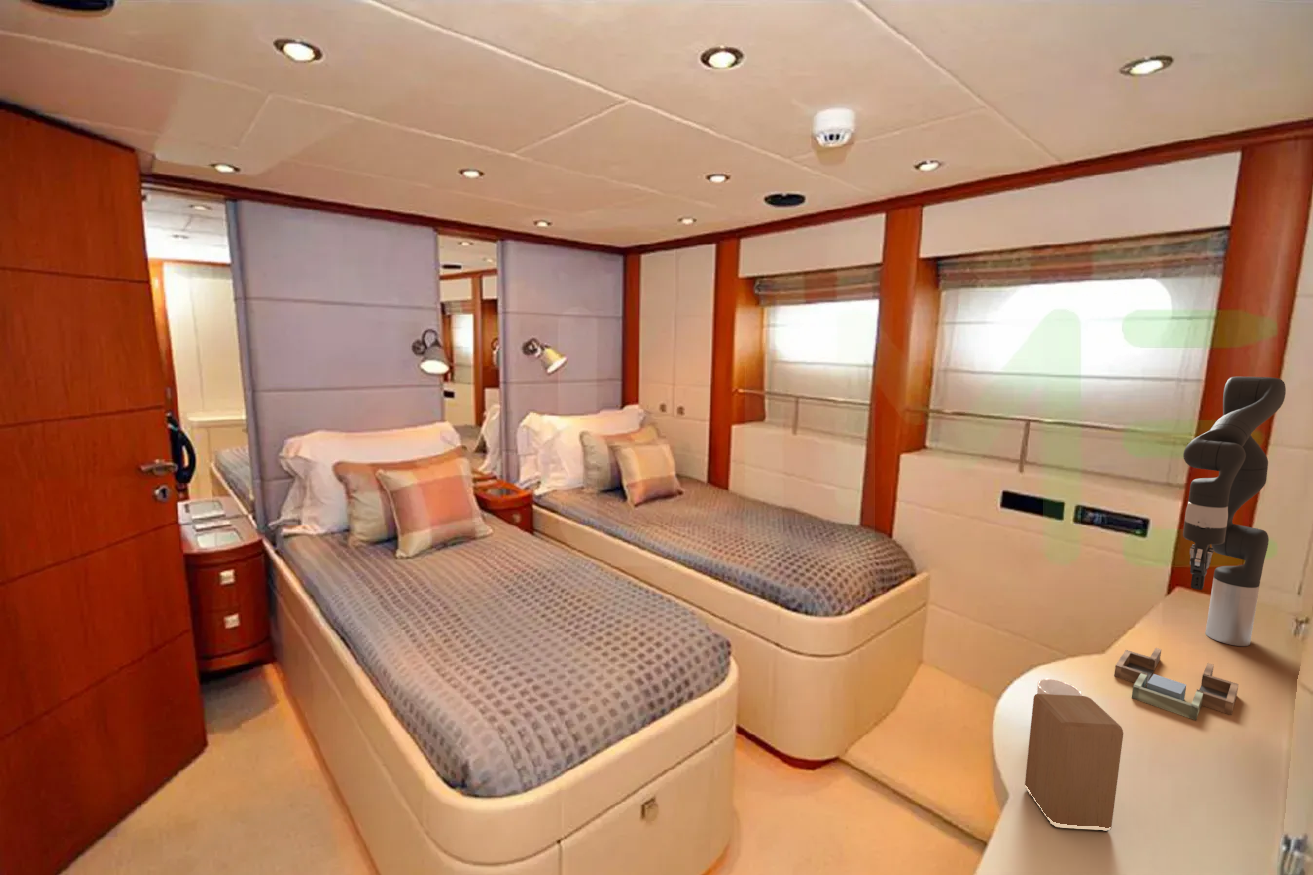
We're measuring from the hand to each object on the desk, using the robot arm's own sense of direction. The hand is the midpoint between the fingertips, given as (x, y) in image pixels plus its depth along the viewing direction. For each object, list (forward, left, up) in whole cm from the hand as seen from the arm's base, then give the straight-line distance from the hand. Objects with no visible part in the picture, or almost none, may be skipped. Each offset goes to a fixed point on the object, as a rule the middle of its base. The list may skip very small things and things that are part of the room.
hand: (1196, 588), depth 145 cm
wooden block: (+74, -7, -24) cm, 78 cm away
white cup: (+50, -15, -23) cm, 58 cm away
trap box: (+8, -1, -23) cm, 25 cm away
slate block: (+17, -1, -24) cm, 29 cm away
